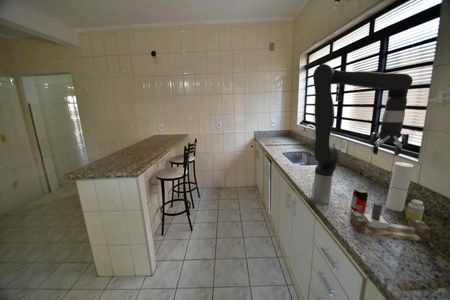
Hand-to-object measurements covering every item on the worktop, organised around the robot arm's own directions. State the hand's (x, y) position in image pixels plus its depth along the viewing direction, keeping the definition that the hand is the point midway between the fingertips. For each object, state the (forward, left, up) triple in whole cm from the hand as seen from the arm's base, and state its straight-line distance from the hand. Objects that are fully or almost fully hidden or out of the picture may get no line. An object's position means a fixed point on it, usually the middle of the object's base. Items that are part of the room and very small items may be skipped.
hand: (385, 154), depth 91 cm
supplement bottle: (+15, -3, -32) cm, 36 cm away
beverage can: (-7, +1, -32) cm, 33 cm away
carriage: (-7, -15, -29) cm, 33 cm away
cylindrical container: (+13, +8, -32) cm, 35 cm away
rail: (-2, -15, -32) cm, 35 cm away
